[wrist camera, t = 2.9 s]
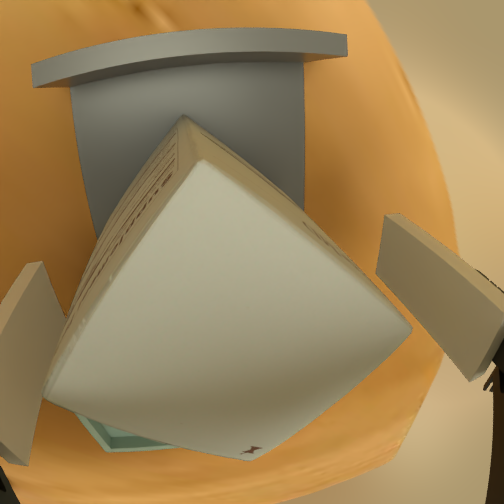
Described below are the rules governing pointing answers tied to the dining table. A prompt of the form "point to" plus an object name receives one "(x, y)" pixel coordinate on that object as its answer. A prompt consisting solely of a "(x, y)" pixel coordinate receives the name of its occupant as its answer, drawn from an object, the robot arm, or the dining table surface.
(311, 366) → the supplement box
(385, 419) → the dining table surface
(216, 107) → the bay
